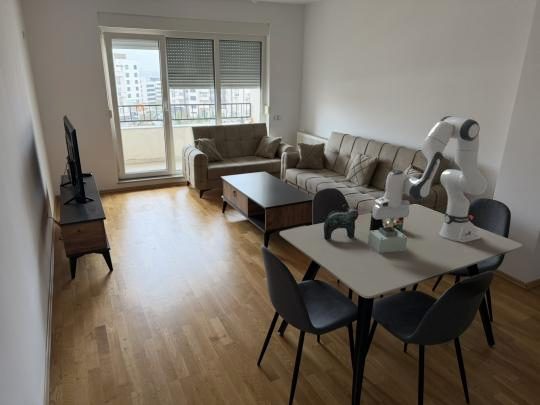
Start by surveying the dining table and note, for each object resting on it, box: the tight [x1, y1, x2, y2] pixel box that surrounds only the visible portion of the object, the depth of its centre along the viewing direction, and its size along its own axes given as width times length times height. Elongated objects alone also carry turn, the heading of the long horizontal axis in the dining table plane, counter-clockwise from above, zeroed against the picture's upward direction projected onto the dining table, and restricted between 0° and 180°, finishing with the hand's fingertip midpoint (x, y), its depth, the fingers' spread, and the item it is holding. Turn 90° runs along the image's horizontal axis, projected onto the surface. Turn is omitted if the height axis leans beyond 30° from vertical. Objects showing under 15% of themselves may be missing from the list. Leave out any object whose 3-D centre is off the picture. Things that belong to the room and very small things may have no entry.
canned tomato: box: [389, 217, 405, 232], centre depth 229 cm, size 8×8×11 cm
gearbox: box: [367, 226, 408, 254], centre depth 205 cm, size 16×12×10 cm
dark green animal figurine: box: [323, 204, 359, 241], centre depth 214 cm, size 20×6×20 cm, turn 104°
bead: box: [385, 220, 393, 229], centre depth 202 cm, size 4×4×4 cm
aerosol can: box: [367, 210, 385, 238], centre depth 214 cm, size 8×8×20 cm
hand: (389, 225), depth 202 cm, fingers closed on bead, 4 cm apart
